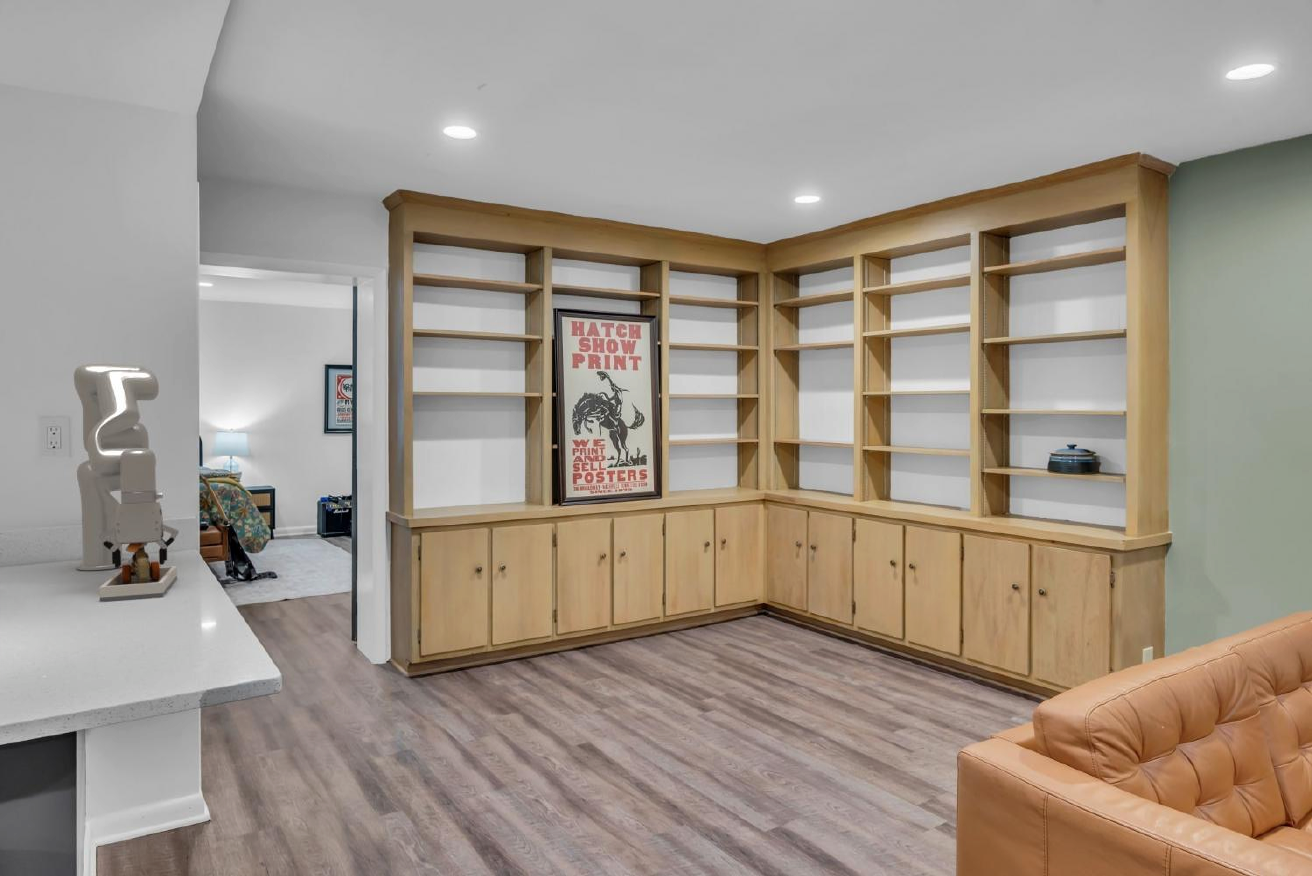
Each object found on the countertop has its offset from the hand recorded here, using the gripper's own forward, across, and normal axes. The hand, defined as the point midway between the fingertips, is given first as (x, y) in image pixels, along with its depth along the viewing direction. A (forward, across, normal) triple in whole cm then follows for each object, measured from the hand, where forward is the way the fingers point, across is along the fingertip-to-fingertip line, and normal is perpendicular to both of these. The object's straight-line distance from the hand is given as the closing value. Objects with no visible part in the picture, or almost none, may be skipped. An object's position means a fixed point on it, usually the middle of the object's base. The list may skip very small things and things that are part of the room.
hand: (140, 565), depth 206 cm
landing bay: (+6, 0, 0) cm, 6 cm away
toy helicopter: (+6, 0, 0) cm, 6 cm away
